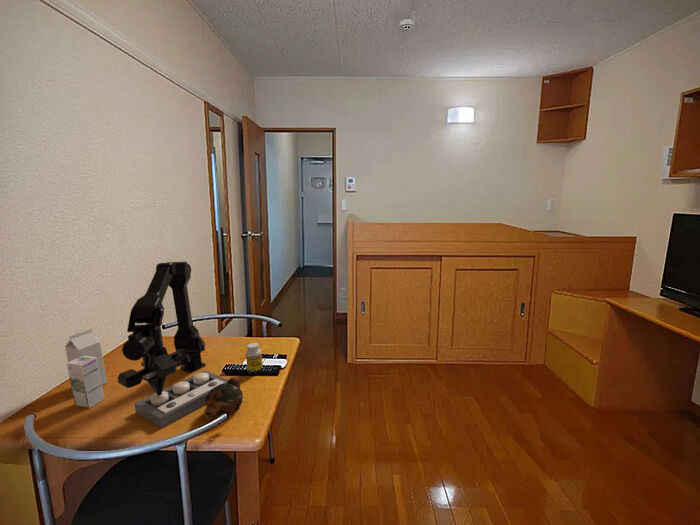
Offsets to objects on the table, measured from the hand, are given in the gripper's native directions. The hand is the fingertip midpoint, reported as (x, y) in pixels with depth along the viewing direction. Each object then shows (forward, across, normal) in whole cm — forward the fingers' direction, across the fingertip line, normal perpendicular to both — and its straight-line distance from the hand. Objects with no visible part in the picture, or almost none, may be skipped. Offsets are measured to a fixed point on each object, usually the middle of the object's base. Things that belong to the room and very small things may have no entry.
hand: (159, 394), depth 118 cm
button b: (+2, +7, 0) cm, 7 cm away
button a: (+2, 0, 0) cm, 2 cm away
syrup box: (+5, -10, +23) cm, 26 cm away
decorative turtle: (+5, +10, -17) cm, 20 cm away
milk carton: (+5, -5, +35) cm, 36 cm away
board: (+5, +7, -2) cm, 9 cm away
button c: (+2, +14, 0) cm, 14 cm away
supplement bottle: (+5, +32, -5) cm, 33 cm away
